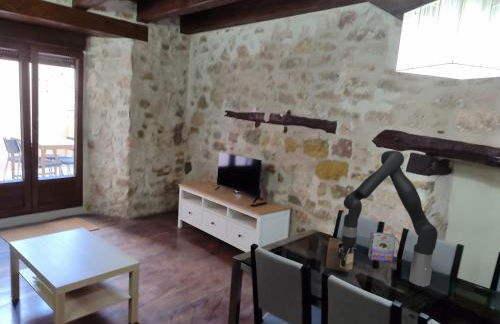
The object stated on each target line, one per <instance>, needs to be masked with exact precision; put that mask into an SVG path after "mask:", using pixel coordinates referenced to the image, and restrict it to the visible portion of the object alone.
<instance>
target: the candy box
mask: <svg viewBox="0 0 500 324" xmlns="http://www.w3.org/2000/svg"><path fill="white" fill-rule="evenodd" d="M396 238H397V236H396V235H395V234H394V233H387V232H386V233H385V232H377V231H376V232H375V231H370V237H369V245H368V253H367V257H368V259H369V260H371V261H377V262H378V261H379V262H388V263H393V261H394V254H395V246H396V245H395V244H396Z"/></svg>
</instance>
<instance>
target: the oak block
mask: <svg viewBox="0 0 500 324" xmlns="http://www.w3.org/2000/svg"><path fill="white" fill-rule="evenodd" d="M344 254H346V253H344ZM353 255H354V254H351V253H348V255H347V256H346V262H345V267H343V266H341V260H340V267H341V268H343V269H345V270H349V269H352V270H353V268H352V265H353V266H354V260H353ZM343 257H344V255H343Z"/></svg>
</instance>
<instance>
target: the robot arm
mask: <svg viewBox="0 0 500 324" xmlns="http://www.w3.org/2000/svg"><path fill="white" fill-rule="evenodd" d="M404 161H405V157H404V154H403V152H401V151H398V150H387V151H384V152H383V153H382V154H381V156H380V162H381V164H382V165H380V167H379V168H378V169H377V170H375V171H374V172H373V173H372V174H370V175H369V176H368V177H367V178H366V179H364V180H363V181H362V182H361V184H360V185H359V186H358V187H357V188H356V189H355V190H353V191H352V192H350V193H349V194H348V195H347V196H346V197H344V200H343V206H344V208H345V209H347V210H348V211H347V212H348V213H347V214H345V215H344V218H343V225H342V231H341V239H342V240H341V242H342V244H343V245H342V247H341V248H338V257H339V258H340V259H341V266H343V267H345V262H346V256H347V255H348V253H351V254H354V255H353V257H354V258H355V257H356V256H357V252H358V249H359V246H358V245H356V244H357V239H358V237H357V236H358V225H359V223H358V222H359V218H360V215H361V213H362V209H363V203H362V200H363V199H365V200H366V199H368V198H369V197H370V196H371V195H372V193H373V192H374V191H375V190H376V189H378V187H379V186H380V185H381V184H382V183H383V182H384V181H385V180H386V179H387V178H388V177H389V178H390V180H391V182H392V184H393V187H394V188H395V190H396V193H397V196H398V198H399V200H400V201H401V203H402V206H403V207H404V209H405V211H406V213H407V214H408V216H409V218H410V221H411V222H412V226H413V229H414V232H415V234H416V235H417V242H416V243H415V244H414V246H413V252H412V258H411V265H410V273H409V278H408V279H409V280H408V281H409V282H410V283H412V284H414V285H415V286H419V287H422V288H423V287H424V288H426V287H428V286H430V285H431V279H432V278H431V277H432V272H433V267H431V266H432V260H433V253H434V251H435V249H436V246H437V239H438V230H437V227H436V226H434V225H433V224H432V223H431V222H430V221H429V219H428V217H427V216H426V215H425V213H424V209H423V204H422V200H421V198H420V195H419V192H418V190H417V188H416V186H415V184H413V182H412V181H411V180H410V179H409V178H408V177H407V176H406V174H405V173H404V172H403V170H402V168H401V166H402V165H403V164H404ZM344 253H346V254H344ZM343 255H344V257H343Z"/></svg>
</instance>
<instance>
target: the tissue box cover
mask: <svg viewBox="0 0 500 324" xmlns="http://www.w3.org/2000/svg"><path fill="white" fill-rule="evenodd" d="M341 240H342V238H336V237H335V238H334V237H329V240H328V246H327V252H326V259H325V261H326V262H325V269H329V270H336V271H341V272H346V273H351V274H352V273H353V269H354V268H353V267H354V264H353V265H352V269H349V270H345V269H343V268H341V267H340V260H341V259H340V258H339V257H338V248H341V247H342V245H343V244H342V242H341ZM354 259H355V257H353V261H354Z"/></svg>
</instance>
